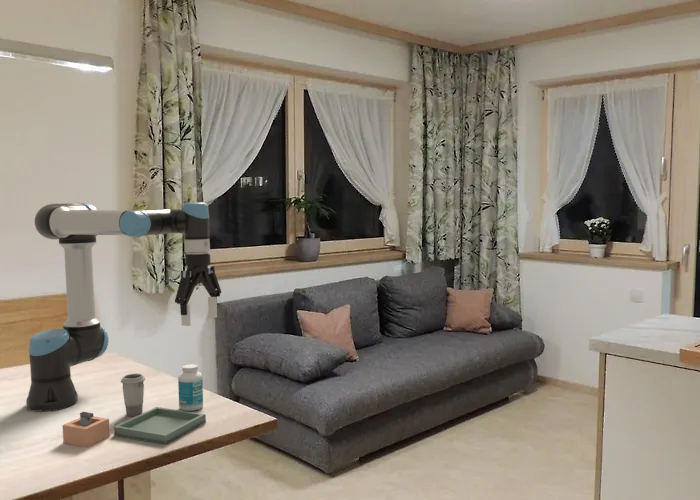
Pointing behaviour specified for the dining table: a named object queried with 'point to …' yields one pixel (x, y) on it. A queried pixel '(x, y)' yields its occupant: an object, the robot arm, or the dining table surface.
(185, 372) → the pill bottle
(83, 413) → the post
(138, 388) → the cup
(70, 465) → the dining table surface
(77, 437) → the pink open box
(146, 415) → the tray
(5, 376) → the dining table surface
